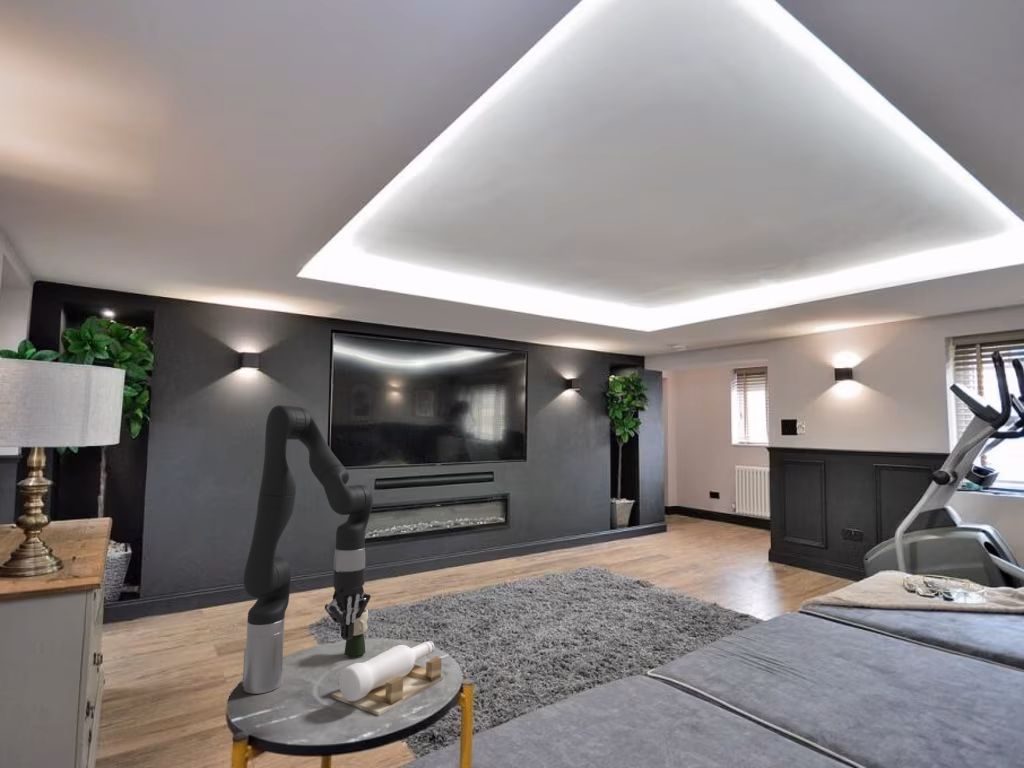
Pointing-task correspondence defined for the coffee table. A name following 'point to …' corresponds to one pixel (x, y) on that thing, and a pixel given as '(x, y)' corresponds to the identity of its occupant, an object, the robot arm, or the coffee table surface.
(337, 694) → the bottle cradle
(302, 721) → the coffee table surface
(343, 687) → the bottle
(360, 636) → the character mug
